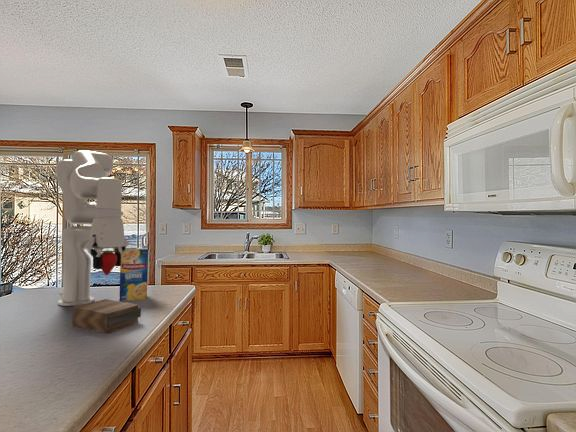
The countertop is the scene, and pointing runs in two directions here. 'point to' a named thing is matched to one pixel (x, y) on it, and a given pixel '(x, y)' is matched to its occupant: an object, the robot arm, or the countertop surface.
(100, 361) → the countertop surface
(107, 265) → the strawberry
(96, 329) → the brown wooden block
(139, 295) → the blue yellow food box
